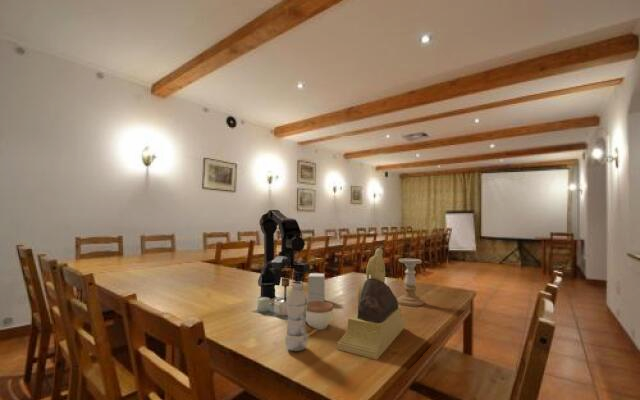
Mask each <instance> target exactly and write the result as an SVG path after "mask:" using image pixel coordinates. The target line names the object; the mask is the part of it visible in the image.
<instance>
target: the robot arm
mask: <svg viewBox="0 0 640 400" xmlns="http://www.w3.org/2000/svg"><path fill="white" fill-rule="evenodd" d="M259 226H260V230H261V232H262V234H263V240H264V241H263V247H264V248H263V251H264V253H263V256H264V257H263V260H264V261H263V262H264V265H263V266H262V268H261V269H260V275H259V277H258V279H257V286H258V287H260V296H259V297H258V298H260V297H268V298H270V300H271V299H276V297H277V295H276V287H275V286H277V287H278V286H280V285H281V282H282V273H283V272H282V271H283V269H290V270H294V272H293V273H294V276H295V278H294V279H295V280H294V282H296V281H299V282H302V279H303V277H304V275H305V274H306V273H308V272H309V271H310V270H311V265H310V264H309V263H306V262H305V263H304V262H299V263H297V260H296V258H295V257H296V256H295V255H296V254H298V253H297V252H302V251H303V250H304V248H305V245H306V243H305V240H304V239H303V238H302V237H301V236H302V231H301V230H302V229H301V228H300V226H299V222H298V221H297V219H295V218H290V217H287V216H286V215H285V214H283V213H282V212H281V211H280V210H278V209H269V210H268V211H267V212H265V213H264V214H263V215H261V217H260V219H259ZM277 230H279V232H280V238H281V239H280V240H281V241H280V243H281V245H280V250H281V251H279V252H278V256H276V257H275V240H274V239H275V236H274V235H275V234H276V232H277ZM258 298H257V299H258ZM277 298H278V297H277Z"/></svg>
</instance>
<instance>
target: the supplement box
mask: <svg viewBox="0 0 640 400" xmlns="http://www.w3.org/2000/svg"><path fill="white" fill-rule="evenodd" d="M325 274H326V273H316V272H315V273H311V272H310V273H309V274H308V276H307V280H308V281H307V297H308V302H312V301H317V300H320V301H324V302H325V295H326V294H325V293H326V292H325V291H326V290H325V286H326V285H325V284H326V282H325V278H326V277H325Z"/></svg>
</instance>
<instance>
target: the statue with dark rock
mask: <svg viewBox="0 0 640 400" xmlns="http://www.w3.org/2000/svg"><path fill="white" fill-rule="evenodd" d="M383 253H384V250H383V249H382V248H380V247H379V248H376V249H375V252H374V255H373V256H371V257H370V258H369V259H368V263H367V265H366V269H365V272H366V273H365V275H366V280H363V281H362V282H360V286H359V288H358V292H357V293H358V295H357V304H358V305H357V312H356V313H354V314H353V315H351V316H350V317H348V319H347V323H348V324H347V327H346V330H345V332H344V334H343V336H342V337H341V338H340V339H339V340H338V341H337V342H336V350H338V351H343V352H347V353H350V354H354V355H359V356H361V357H364V358H365V357H366V358H369V359H374V360H378V359H379V358H380V357H381V355H382V354H384V352H385V351H386V350H387V349H388V348H389V346H390V345H391V344H392V343H393V341H394V340H395V339H396V338H397V337H398V336H399V335H400V334H401V332H402V331H403V330H404V329H405V328H404V321H403V318H402V306H400V305H399V303H398V301H397V297H396V296H395V295H394V293H393V291H392V290H391V288H390V286H389V285H387V284H386V280H385V279H386V265H385V260H384V258H383V255H384V254H383Z"/></svg>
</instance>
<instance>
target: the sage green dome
mask: <svg viewBox="0 0 640 400" xmlns="http://www.w3.org/2000/svg"><path fill="white" fill-rule="evenodd" d="M256 303H257V304H256V305H257V308H256V310H257V312H259V313H266V312H269V311H270V303H271V299H270V298H268V297H261V296H259V298H257V302H256ZM259 313H258V314H259Z"/></svg>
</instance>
